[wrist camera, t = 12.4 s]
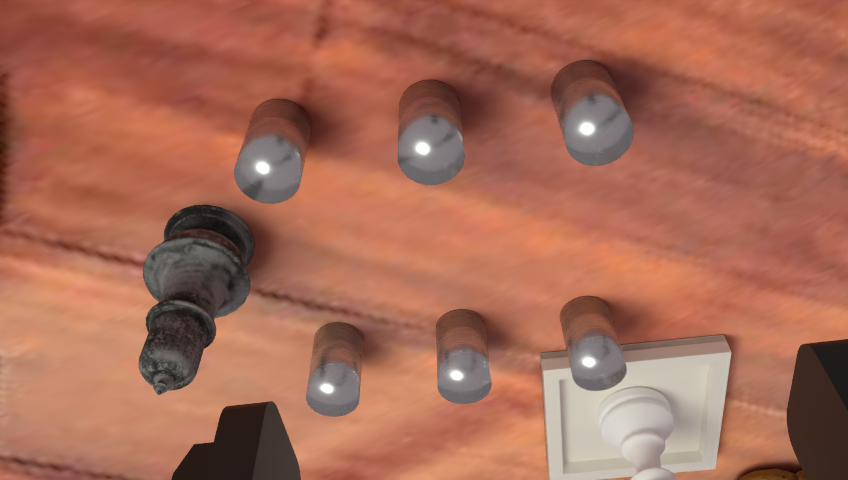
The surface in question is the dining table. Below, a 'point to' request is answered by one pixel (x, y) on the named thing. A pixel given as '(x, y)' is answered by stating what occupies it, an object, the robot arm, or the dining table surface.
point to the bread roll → (774, 475)
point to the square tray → (649, 368)
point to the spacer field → (434, 164)
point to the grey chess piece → (192, 290)
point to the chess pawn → (638, 429)
